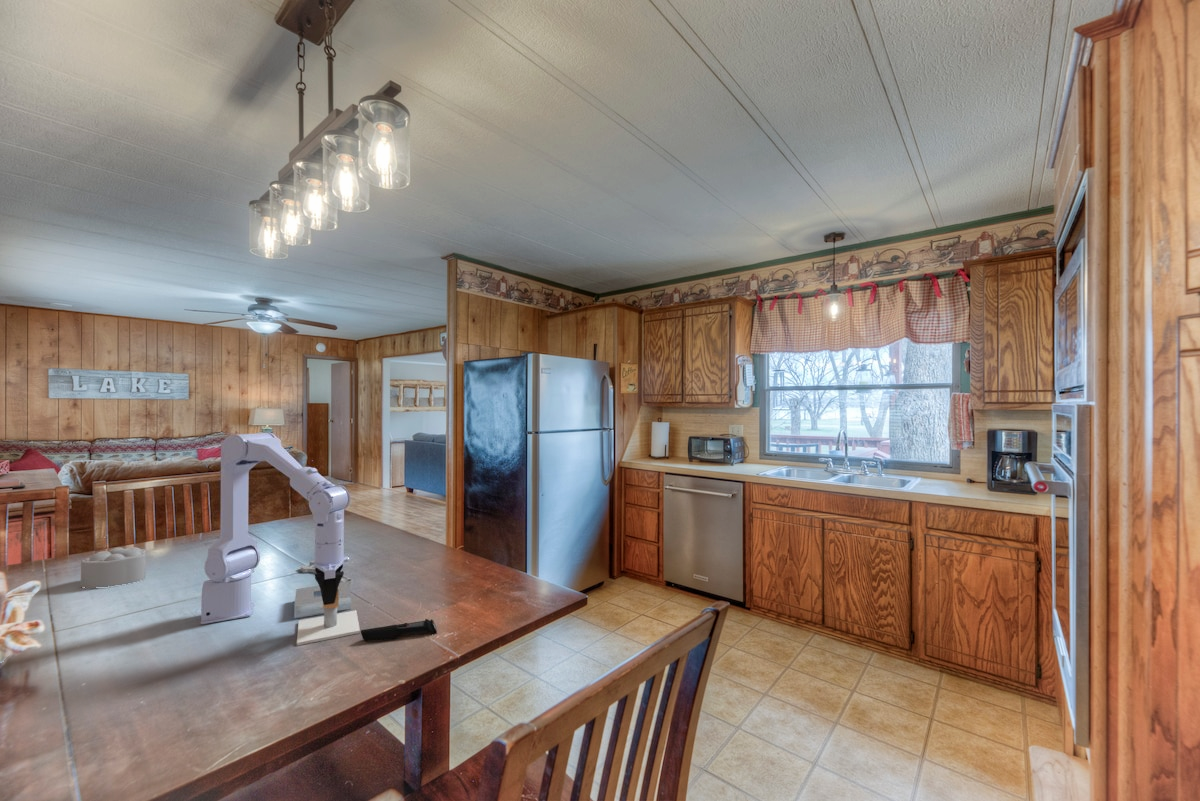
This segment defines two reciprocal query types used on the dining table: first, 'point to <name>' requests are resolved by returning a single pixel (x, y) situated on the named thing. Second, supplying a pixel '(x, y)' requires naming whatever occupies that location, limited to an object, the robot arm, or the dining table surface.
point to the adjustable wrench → (312, 569)
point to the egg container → (113, 567)
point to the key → (331, 613)
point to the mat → (316, 631)
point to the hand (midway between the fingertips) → (328, 600)
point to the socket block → (319, 600)
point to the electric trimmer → (399, 631)
